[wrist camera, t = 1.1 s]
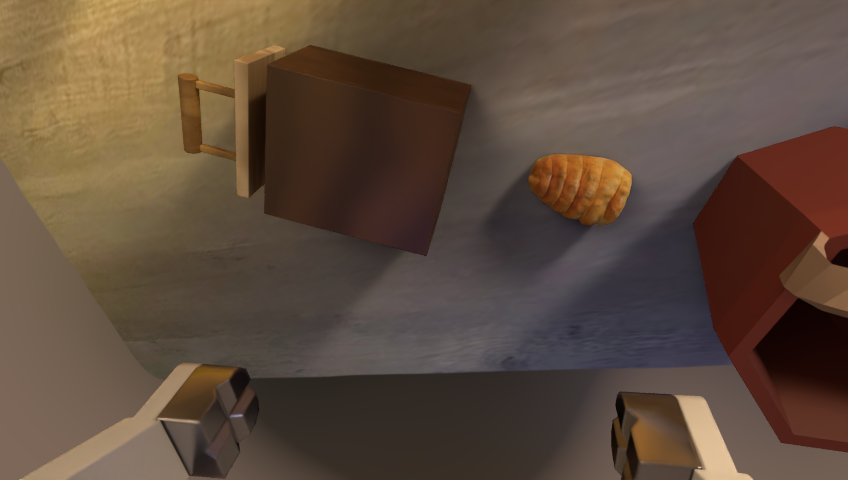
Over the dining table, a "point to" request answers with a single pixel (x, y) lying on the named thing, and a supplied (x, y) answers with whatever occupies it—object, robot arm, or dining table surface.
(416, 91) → the cabinet
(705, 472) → the robot arm
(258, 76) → the drawer
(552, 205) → the pastry
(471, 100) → the dining table surface
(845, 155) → the bucket
